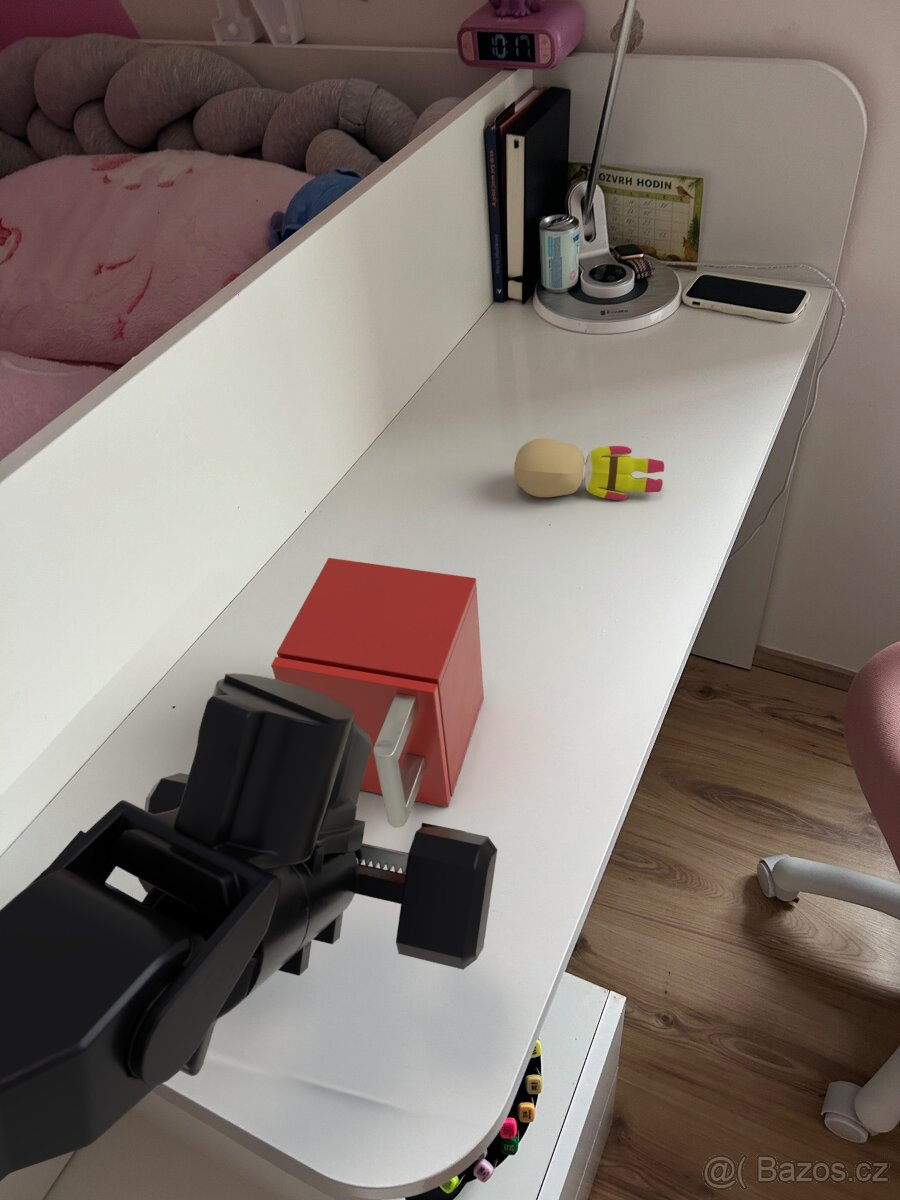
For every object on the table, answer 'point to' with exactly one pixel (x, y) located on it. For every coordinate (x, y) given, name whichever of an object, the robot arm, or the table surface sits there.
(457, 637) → the cabinet
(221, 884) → the robot arm
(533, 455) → the toy
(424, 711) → the red cabinet door
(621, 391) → the table surface
